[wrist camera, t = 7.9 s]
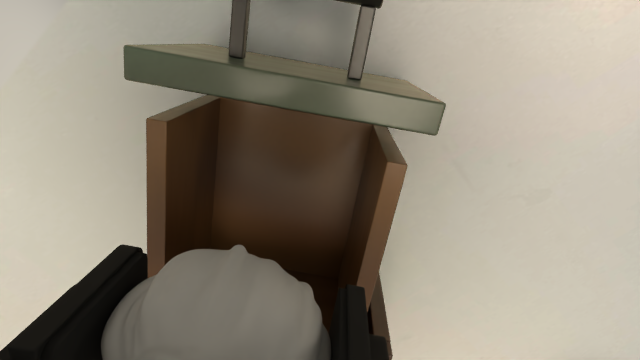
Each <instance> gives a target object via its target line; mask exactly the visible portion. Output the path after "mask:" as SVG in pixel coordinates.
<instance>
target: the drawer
mask: <svg viewBox="0 0 640 360" xmlns="http://www.w3.org/2000/svg"><path fill="white" fill-rule="evenodd" d="M250 1H251V0H232V14H231V28H230V42H229V48H224V47H219V46H213V45H208V44H160V45H125V46H124V77H125V79H126V80H129V81H135V82H140V83H146V84H151V85H157V86H163V87H168V88H174V89H179V90H185V91H190V92H196V93H201V94H207V95H205V96H202V97H200V98H197V99H195V100H192V101H190V102H187V103H185V104H182V105H180V106H177V107H174V108H172V109H169V110H167V111H164V112H162V113H159V114H157V115H154V116H151V117H149V118H147V119H146V137H147V257H148V278H150V277H152V276H154V275H157V274H158V273H159V271H160V270H161V269H162V268H163V267H164V266H165V265H166V264H167V263H168V262H169V261H170V260H171V259H172V258H174V257H175V256H177V255H179V254H182V253H184V252H187V251H190V250H195V249H215V250H230V249H232V248H233V247H234V246H235V245H242V246H244V247H245V249H246V251H247V252H248V253H249V254H252V255H255V256H257V257H259V258H262V259H270V260H273V261H275V262H276V263H278V264H279V265H280V266H281V268H282V269H283V270H284V271H286V272H287V273H288V274H289V275H291V276H293V277H294V278H296V279H297V280H298V281H299V282H305V283H307V284H309V285H310V286H311V288H312V290H313V295H314V300H315V302H316V303H317V305H318V306H319V308H320V311H321V314H322V323H323V325H324V326H325V328H326V330H327V332H329V328H330V324H331V320H332V315H333V311H334V306H335V302H336V298H337V293H338V289H339V288H344V289H345V287H346V284H349V285H355V286H360V287H364V288H365V297H366V308H367V312H368V308H369V305H370V301H371V298H372V294H373V290H374V287H375V283H376V279H377V276H378V272H379V268H380V265H381V261H382V257H383V254H384V250H385V246H386V243H387V239H388V235H389V232H390V228H391V224H392V221H393V217H394V214H395V210H396V206H397V203H398V199H399V195H400V192H401V188H402V184H403V181H404V177H405V173H406V170H407V163H406V162H405V160H404V158H403V156H402V154H401V152H400V150H399V149H398V147H397V145H396V143H395V141H394V139H393V137H392V136H391V134H390V132H389V130H388V128H387V127H390V128H395V129H401V130H406V131H412V132H417V133H423V134H428V135H437V133H438V130H439V127H440V123H441V120H442V117H443V113H444V110H445V106H446V104H445V103H444V102H442V101H440V100H439V99H437V98H435V97H434V96H432V95H430V94H428V93H427V92H425V91H423V90H422V89H420V88H418V87H417V86H415V85H413V84H412V83H410V82H408V81H406V80H400V79H395V78H389V77H384V76H378V75H373V74H367V73H363V69H364V64H365V59H366V54H367V49H368V45H369V40H370V35H371V30H372V25H373V20H374V15H375V10H376V8H378V9H379V8H381V6H382V3H383V0H335V1H340V2H346V3H351V4H357V5H361V7H360V10H359V16H358V21H357V26H356V31H355V37H354V42H353V47H352V52H351V58H350V63H349V68H348V70H345V69H340V68H334V67H329V66H323V65H318V64H312V63H307V62H301V61H296V60H290V59H285V58H279V57H274V56H268V55H263V54H257V53H252V52H246V46H247V35H248V23H249V12H250Z"/></svg>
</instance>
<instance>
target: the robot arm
mask: <svg viewBox="0 0 640 360" xmlns="http://www.w3.org/2000/svg"><path fill="white" fill-rule="evenodd" d="M146 279H148V257H147V254H145V253H143V250H142V249H141V248H139V247H133V246H128V245H120V246H118V247H117V248H116V249H115V250H114V251H113V252H112V253H111V254H109V255H108V256H107V257H106V258H105V259H104V260H103V261H102V262H101V263H100V264H98V265H97V266H96V267H95V268H94V269H93V270H92V271H91V272H90V273H88V274H87V275H86V276H85V277H84V278H83V279H82V280H81V281H80V282H79V283H77V284H76V285H74V286H73V287H71V288H70V289H69V290H68V291H67V292H66V293H65V294H63V295H62V296H61V297H60V298H59V299H58V300H57V301H56V302H55V303H53V304H52V305H51V306H50V307H49V308H48V309H47V310H46V311H45V312H43V313H42V314H41V315H40V316H39V317H38V318H37V319H36V320H35V321H33V322H32V323H31V324H30V325H29V326H28V327H27V328H26V329H25V330H23V331H22V332H21V333H20V334H19V335H18V336H17V337H16V338H15V339H13V340H12V341H11V342H10V343H9V344H8V345H7V346H6V347H5V348H3V349H2V350H1V351H0V360H103V359H102V354H101V339H102V334H103V331H104V328H105V325H106V323H107V321H108V319H109V317H110V316H111V314H112V312H113V311H114V309H115V308H116V306H117V305H118V304H119V302H120V301H121V300H122V299H123V298H124V296H125V295H126V294H127V293H128V292H129V291H131V290H132V289H133V288H134V287H135V286H137V285H138V284H139V283H141V282H142V281H144V280H146ZM328 334H329V337H330V341H331V360H389V355H388V349H387V342H386V339H385V337H384V336H379V335H373V334H369V329H368V318H367V308H366V297H365V288H364V287H360V286H355V285H349V284H346V287H345V289H344V288H339V289H338V293H337V298H336V302H335V306H334V311H333V315H332V320H331V324H330V328H329V333H328Z"/></svg>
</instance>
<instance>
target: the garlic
mask: <svg viewBox="0 0 640 360" xmlns="http://www.w3.org/2000/svg"><path fill="white" fill-rule="evenodd" d="M101 354H102V359H103V360H331V341H330V337H329V334H328V332H327V330H326V328H325V326H324V325H323V323H322V314H321V311H320V308H319V306H318V305H317V303H316V302H315V300H314V295H313V290H312V288H311V286H310V285H309V284H307V283H305V282H299V281H298V280H297V279H296V278H294V277H293V276H291V275H289V274H288V273H287V272H286V271H284V270H283V269H282V268H281V266H280V265H279V264H278V263H276V262H275V261H273V260H270V259H262V258H259V257H257V256H255V255H252V254H249V253H248V252H247V251H246V249H245V247H244V246H242V245H235V246H234V247H233V248H232V249H230V250H215V249H195V250H190V251H187V252H184V253H182V254H179V255H177V256H175V257H174V258H172V259H171V260H170V261H169V262H168V263H167V264H166V265H165V266H164V267H163V268H162V269H161V270H160V271H159V273H158V274H157V275H154V276H152V277H150V278H148V279H146V280H144V281H142V282H141V283H139V284H138V285H137V286H135V287H134V288H133V289H132V290H131V291H129V292H128V293H127V294H126V295H125V296H124V298H123V299H122V300H121V301H120V302H119V304H118V305H117V306H116V308H115V309H114V311H113V312H112V314H111V316H110V317H109V319H108V321H107V323H106V325H105V328H104V331H103V334H102V339H101Z"/></svg>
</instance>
